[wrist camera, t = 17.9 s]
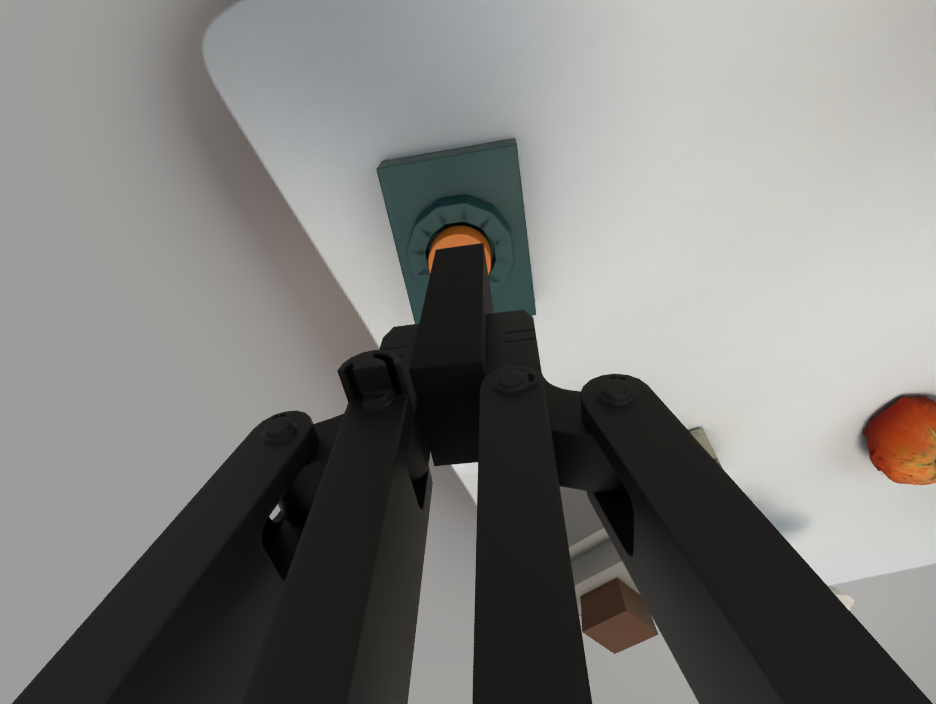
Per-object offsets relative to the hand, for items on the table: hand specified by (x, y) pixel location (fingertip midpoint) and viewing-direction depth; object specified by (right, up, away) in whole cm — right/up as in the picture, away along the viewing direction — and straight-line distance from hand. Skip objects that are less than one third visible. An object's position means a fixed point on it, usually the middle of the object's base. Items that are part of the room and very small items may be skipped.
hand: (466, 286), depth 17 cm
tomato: (+38, -9, +29) cm, 49 cm away
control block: (0, +6, +21) cm, 22 cm away
